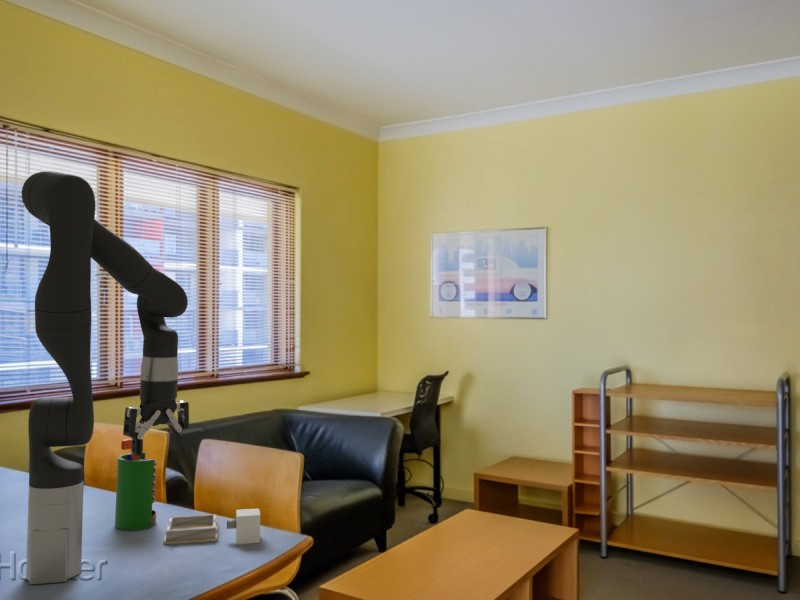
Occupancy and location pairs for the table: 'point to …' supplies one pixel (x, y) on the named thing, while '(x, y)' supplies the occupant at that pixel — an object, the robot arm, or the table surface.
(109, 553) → the table surface
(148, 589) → the table surface
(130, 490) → the green cutaway cylinder
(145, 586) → the table surface
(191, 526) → the mount pocket
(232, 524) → the cream cube on peg
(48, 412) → the robot arm
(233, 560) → the table surface
